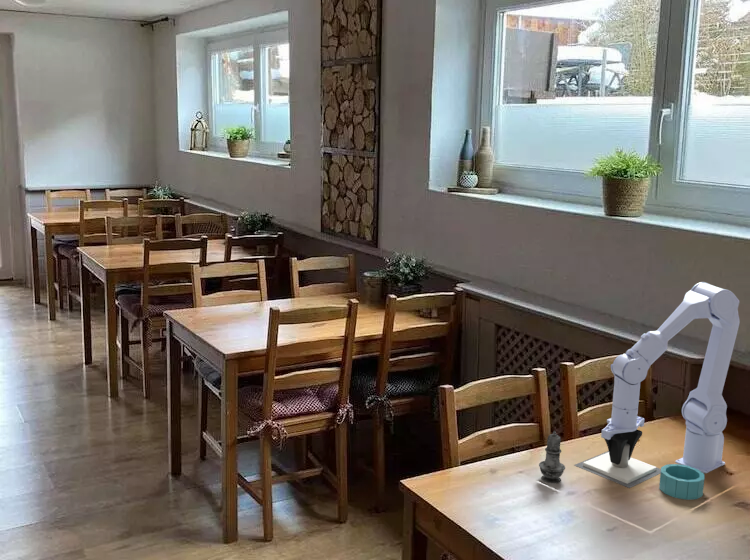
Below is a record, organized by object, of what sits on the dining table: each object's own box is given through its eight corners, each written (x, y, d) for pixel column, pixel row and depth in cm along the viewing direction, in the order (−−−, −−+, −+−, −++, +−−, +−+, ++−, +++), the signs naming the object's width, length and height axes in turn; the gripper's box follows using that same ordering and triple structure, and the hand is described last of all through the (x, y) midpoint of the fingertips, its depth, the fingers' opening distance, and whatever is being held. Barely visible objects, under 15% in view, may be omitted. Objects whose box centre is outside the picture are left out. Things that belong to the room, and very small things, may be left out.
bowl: (672, 479, 184) (674, 460, 183) (709, 493, 177) (712, 474, 176) (651, 489, 178) (653, 470, 177) (688, 504, 171) (691, 485, 170)
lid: (612, 453, 196) (614, 431, 195) (656, 470, 187) (658, 447, 186) (582, 465, 189) (584, 442, 187) (627, 483, 180) (629, 459, 178)
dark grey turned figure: (564, 487, 178) (568, 437, 175) (537, 484, 179) (541, 434, 177) (563, 476, 183) (567, 427, 181) (537, 473, 185) (541, 424, 182)
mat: (610, 451, 198) (610, 450, 198) (665, 472, 187) (665, 470, 187) (573, 466, 189) (573, 465, 189) (629, 489, 178) (629, 487, 178)
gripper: (627, 395, 192) (623, 447, 195) (592, 407, 183) (587, 462, 186) (654, 403, 187) (648, 457, 190) (618, 416, 178) (613, 473, 181)
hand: (620, 460), depth 188 cm, fingers closed on lid, 4 cm apart
